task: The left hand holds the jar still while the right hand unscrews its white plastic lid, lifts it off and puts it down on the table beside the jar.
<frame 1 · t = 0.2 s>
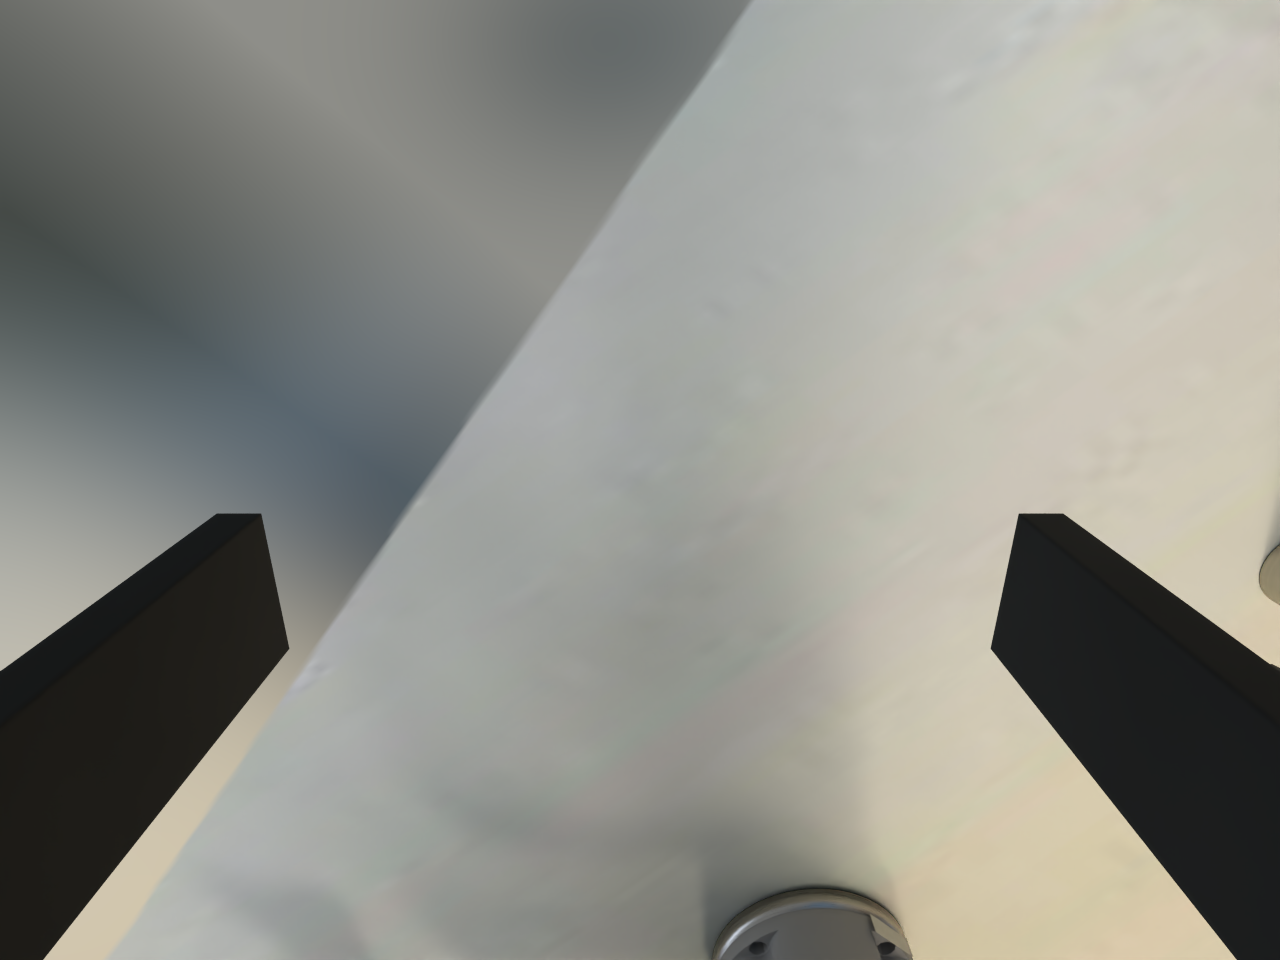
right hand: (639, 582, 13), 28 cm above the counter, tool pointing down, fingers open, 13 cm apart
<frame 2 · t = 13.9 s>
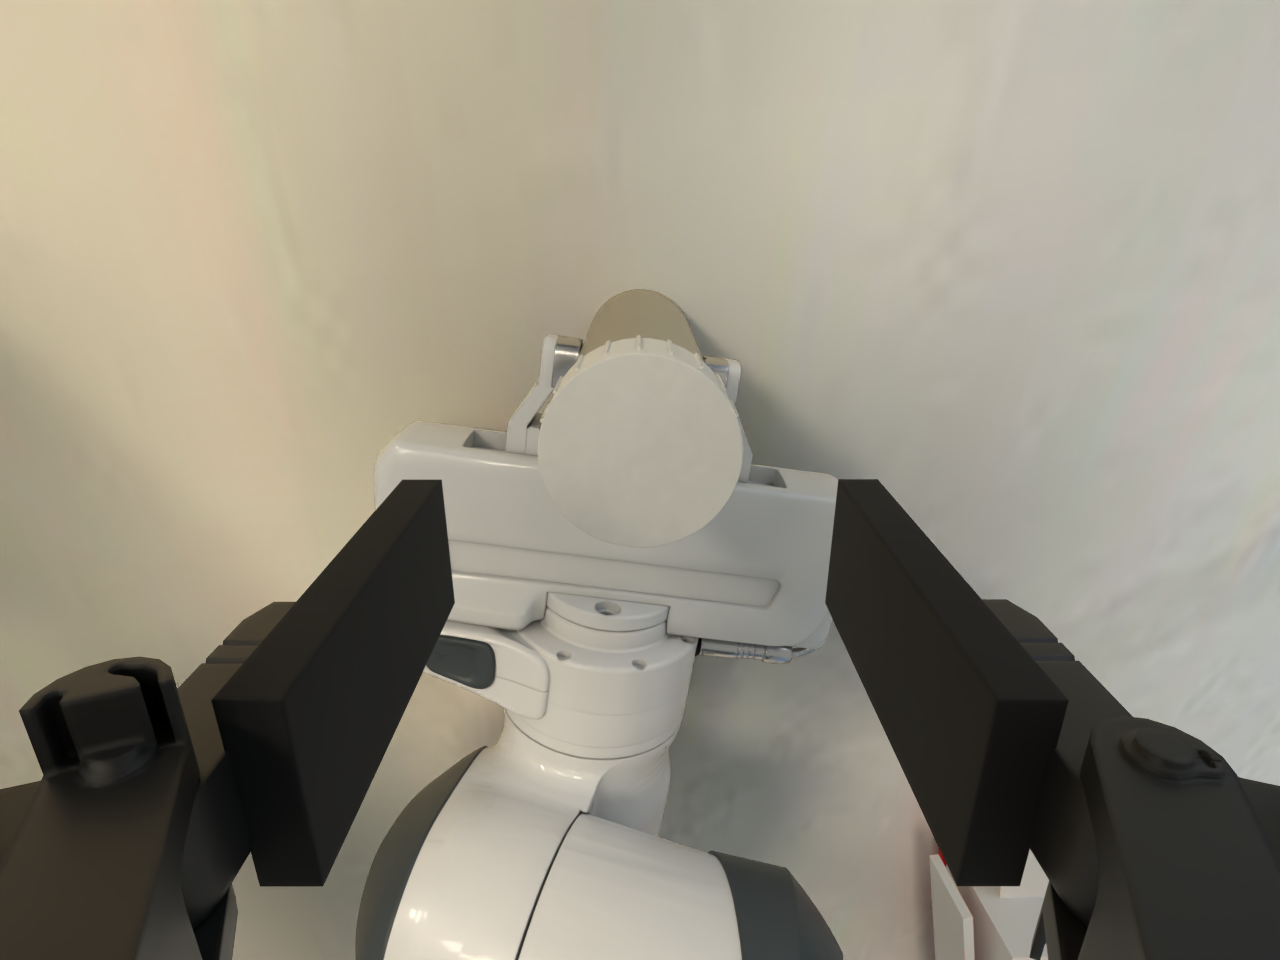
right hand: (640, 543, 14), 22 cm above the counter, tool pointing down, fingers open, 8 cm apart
left hand: (642, 349, 28), fingers closed on jar, 5 cm apart
lid: (640, 451, 19), point 17 cm above the counter, screwed on, not yet turned
jar: (640, 342, 35), on the counter, touching left hand
toy: (985, 896, 48), on the counter
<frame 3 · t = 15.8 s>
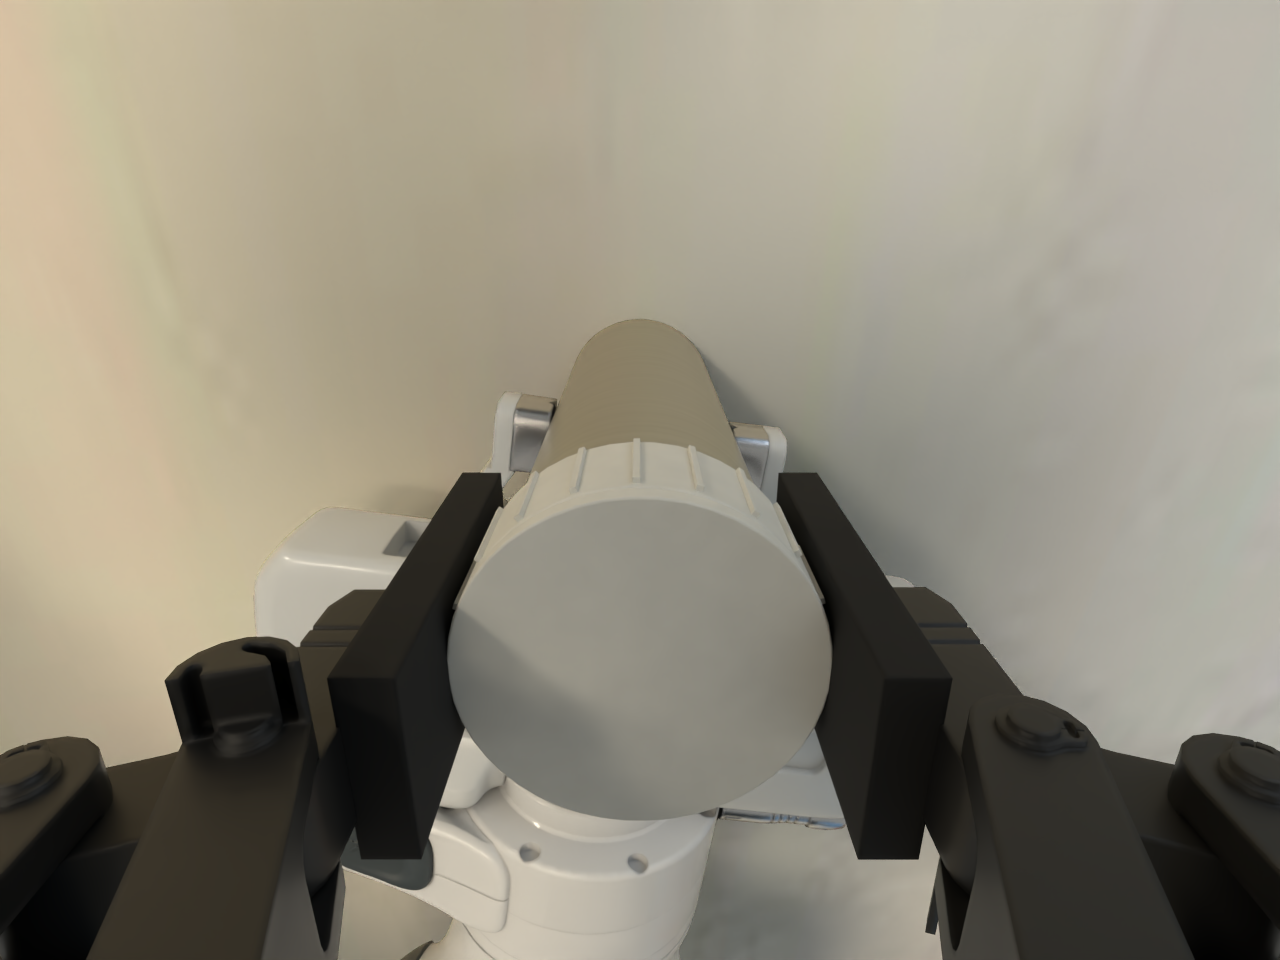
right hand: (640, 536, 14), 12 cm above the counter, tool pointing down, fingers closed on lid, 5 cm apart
lid: (639, 660, 10), point 17 cm above the counter, screwed on, not yet turned, touching right hand
jar: (639, 388, 26), on the counter, touching left hand
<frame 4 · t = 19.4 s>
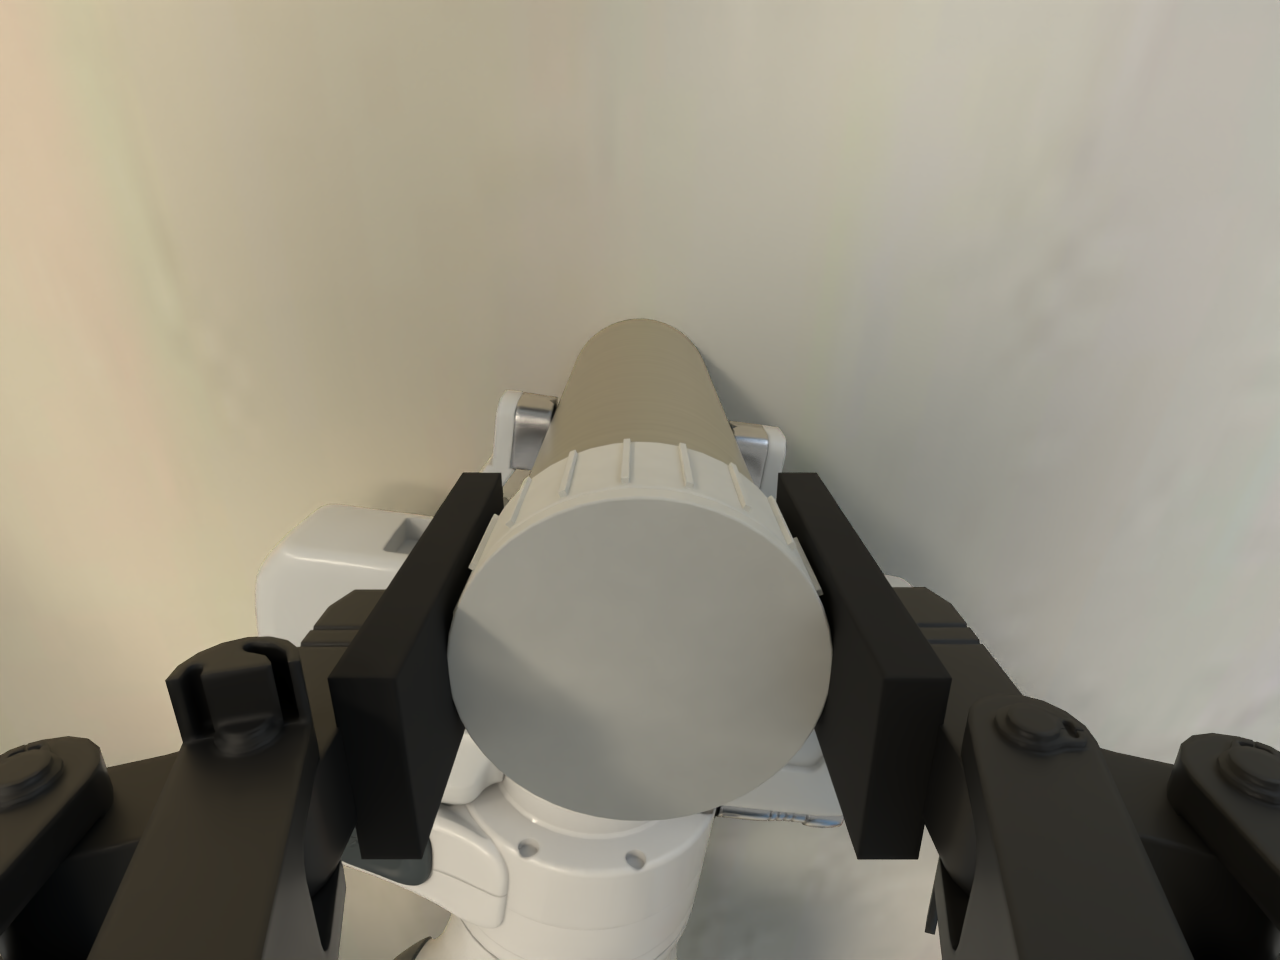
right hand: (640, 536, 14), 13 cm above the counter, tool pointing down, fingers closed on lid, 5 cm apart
lid: (639, 660, 10), point 17 cm above the counter, turned 111° so far, risen 0.1 cm, still on its thread, touching right hand
jar: (639, 387, 26), on the counter, touching left hand
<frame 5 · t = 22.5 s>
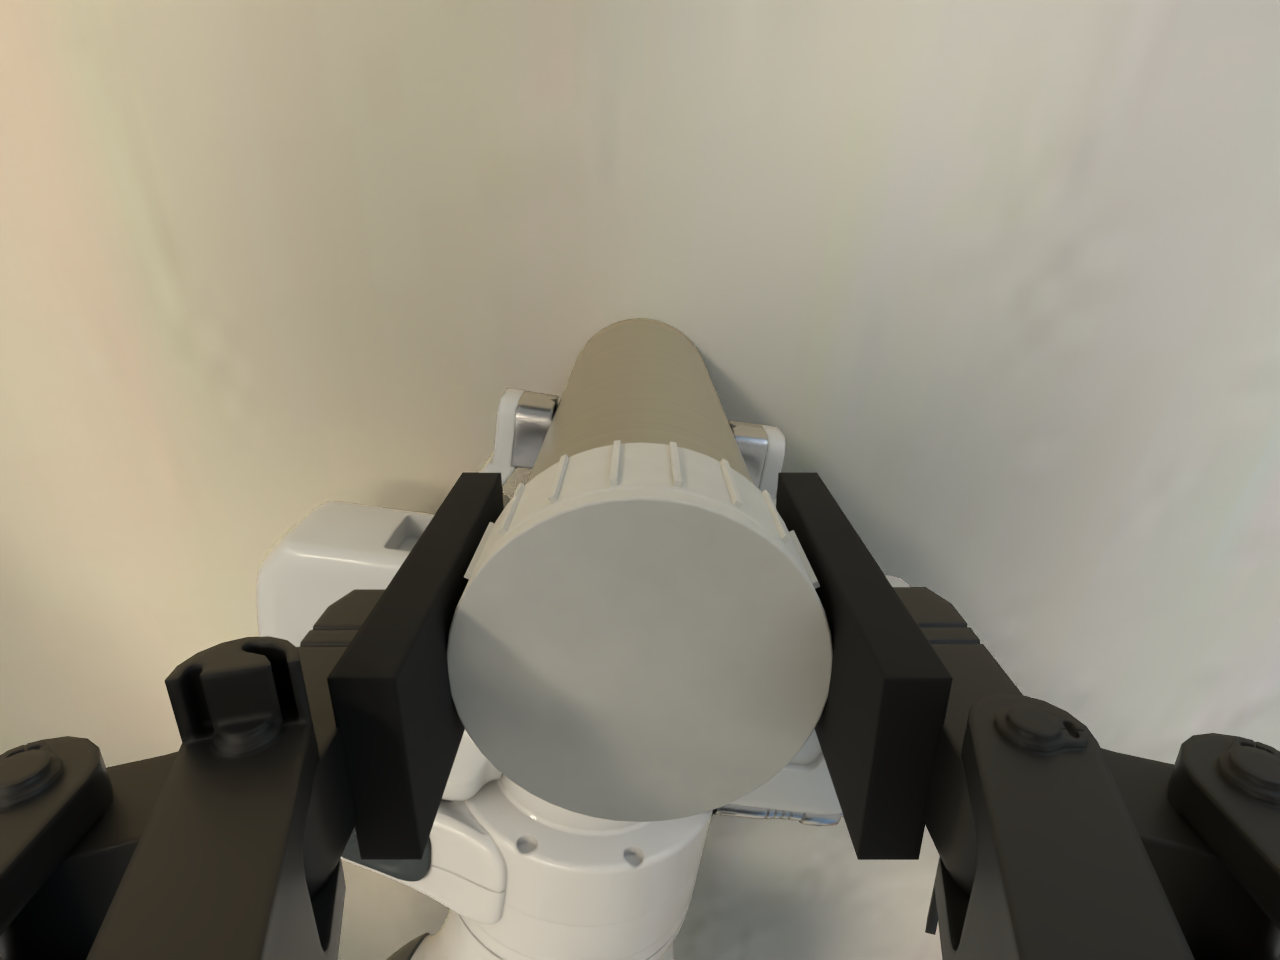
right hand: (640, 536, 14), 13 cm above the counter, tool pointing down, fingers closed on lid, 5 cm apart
lid: (639, 661, 10), point 17 cm above the counter, turned 223° so far, risen 0.2 cm, still on its thread, touching right hand
jar: (639, 387, 26), on the counter, touching left hand
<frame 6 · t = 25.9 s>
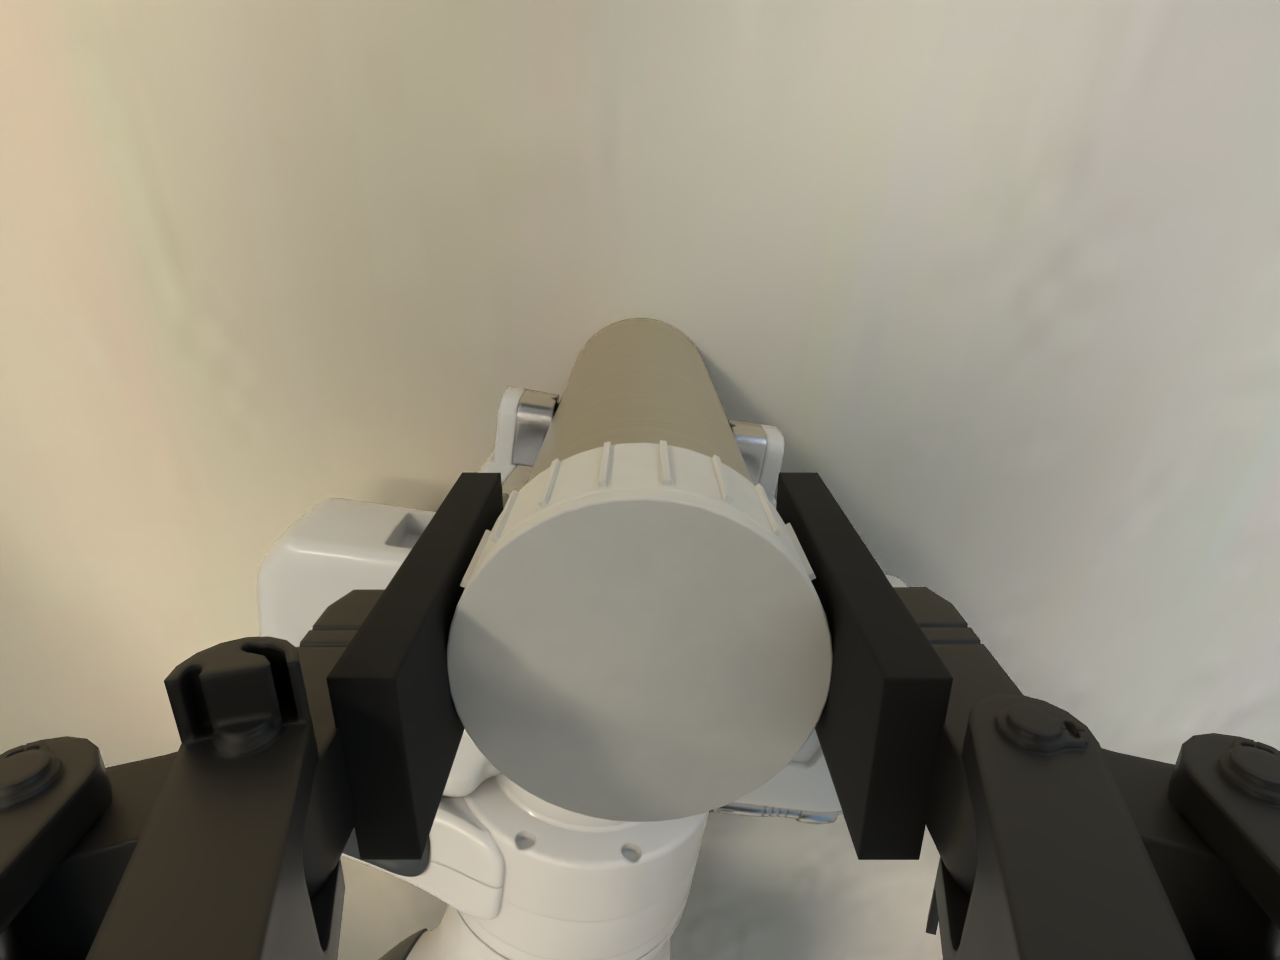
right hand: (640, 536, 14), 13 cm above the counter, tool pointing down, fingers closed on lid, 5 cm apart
lid: (639, 661, 10), point 17 cm above the counter, turned 334° so far, risen 0.4 cm, still on its thread, touching right hand
jar: (639, 386, 26), on the counter, touching left hand
when the right hand's fingers open (0 cm above the counter, at t = 32.4 s): lid drops 2 cm, point 2 cm above the counter.
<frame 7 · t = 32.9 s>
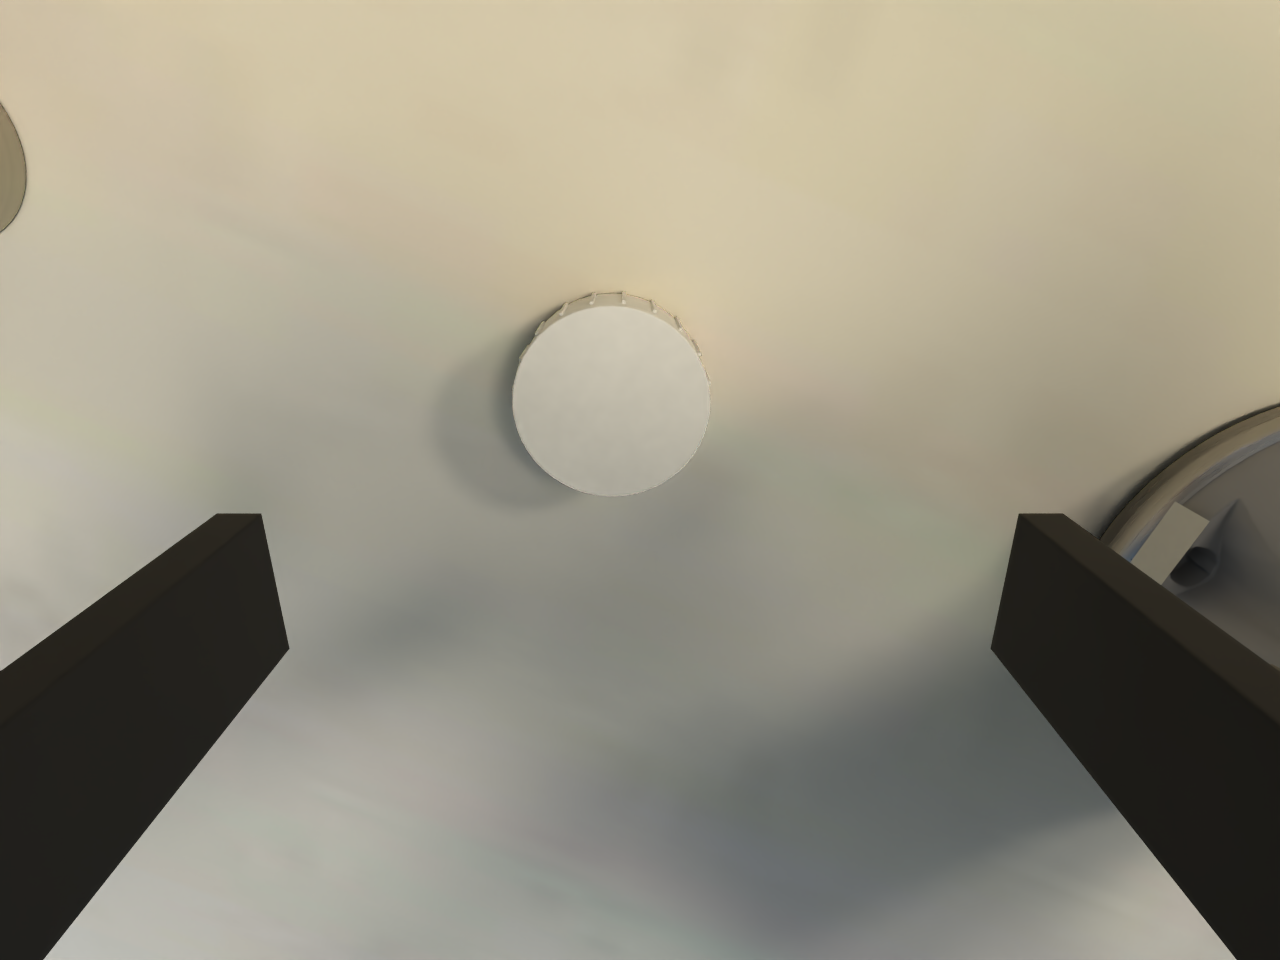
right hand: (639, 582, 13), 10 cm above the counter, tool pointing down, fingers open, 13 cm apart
lid: (611, 402, 20), point 2 cm above the counter, off its thread
when the left hand's fingers open (7 cm above the counter, at t = 33.1 s): jar stays where it is, on the counter.
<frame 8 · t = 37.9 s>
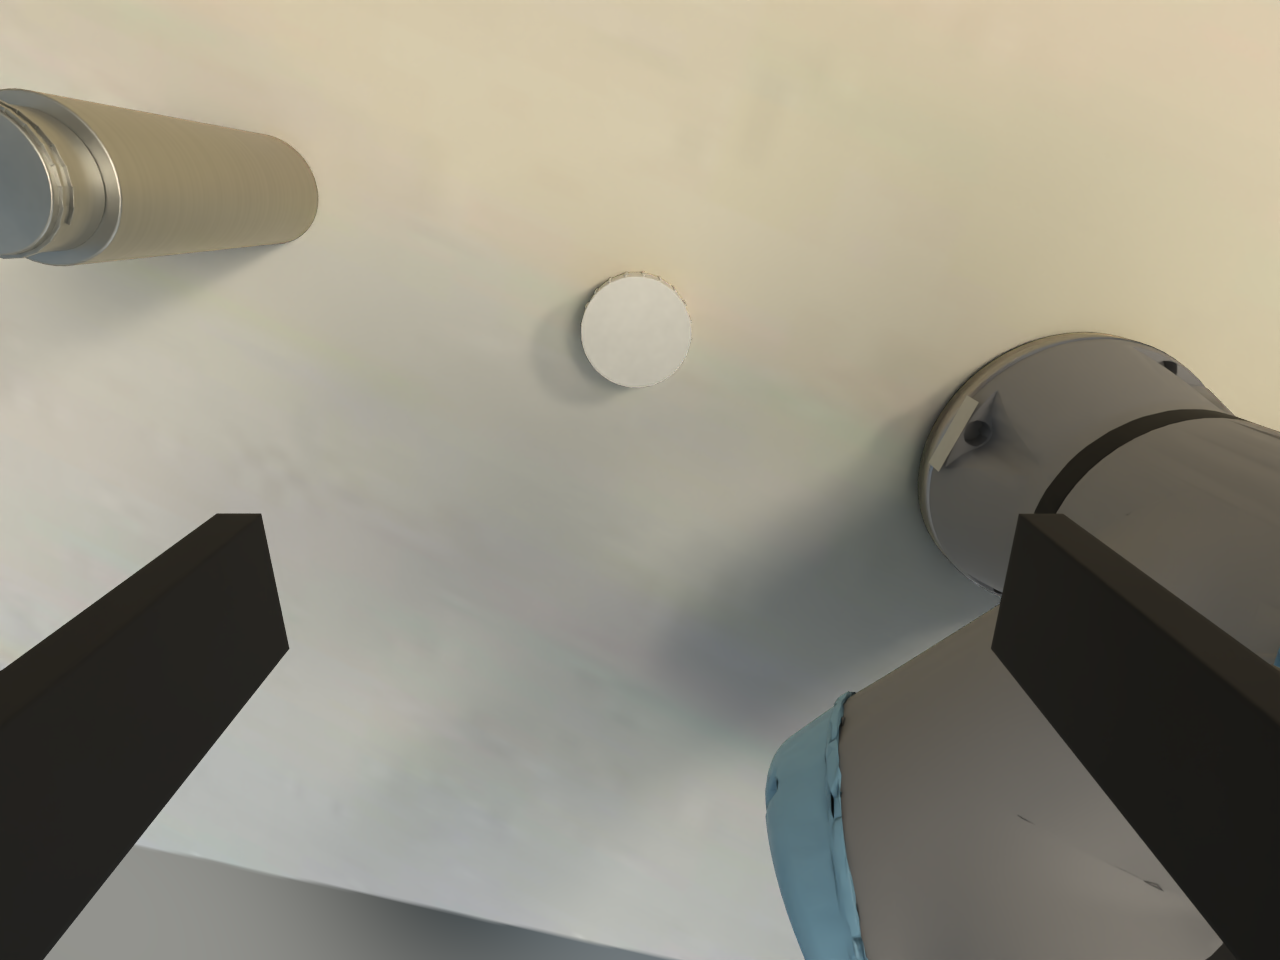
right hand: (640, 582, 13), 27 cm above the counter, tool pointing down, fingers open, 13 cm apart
lid: (636, 332, 36), point 2 cm above the counter, off its thread
jar: (267, 190, 35), on the counter
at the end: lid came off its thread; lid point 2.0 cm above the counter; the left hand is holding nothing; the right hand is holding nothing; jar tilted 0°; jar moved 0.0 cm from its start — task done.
